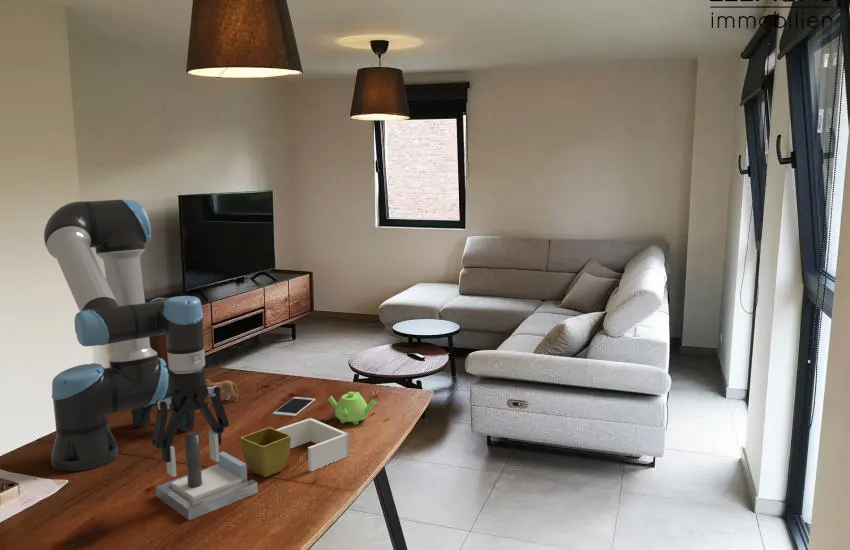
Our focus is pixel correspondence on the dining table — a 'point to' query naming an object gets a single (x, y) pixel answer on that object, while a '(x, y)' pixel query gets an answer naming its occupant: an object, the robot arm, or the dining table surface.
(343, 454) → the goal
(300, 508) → the dining table surface
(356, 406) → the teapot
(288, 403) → the smartphone
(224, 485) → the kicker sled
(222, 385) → the lion figurine
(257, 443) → the flower pot
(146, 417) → the teal arched figure
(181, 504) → the rail base
